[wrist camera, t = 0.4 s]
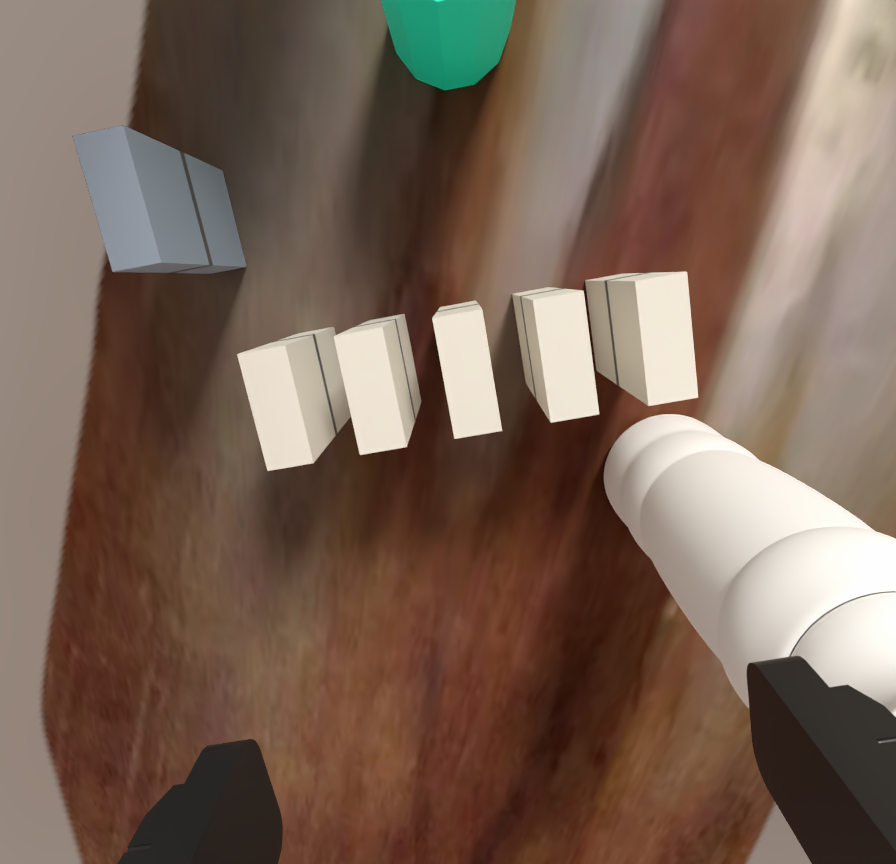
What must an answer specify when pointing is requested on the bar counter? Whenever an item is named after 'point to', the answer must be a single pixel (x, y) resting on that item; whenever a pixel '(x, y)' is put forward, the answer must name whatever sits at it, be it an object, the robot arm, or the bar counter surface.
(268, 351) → the domino
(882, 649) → the water bottle
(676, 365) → the domino
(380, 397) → the domino
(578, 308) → the domino
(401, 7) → the candle
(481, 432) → the domino
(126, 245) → the domino
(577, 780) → the bar counter surface
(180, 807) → the robot arm
